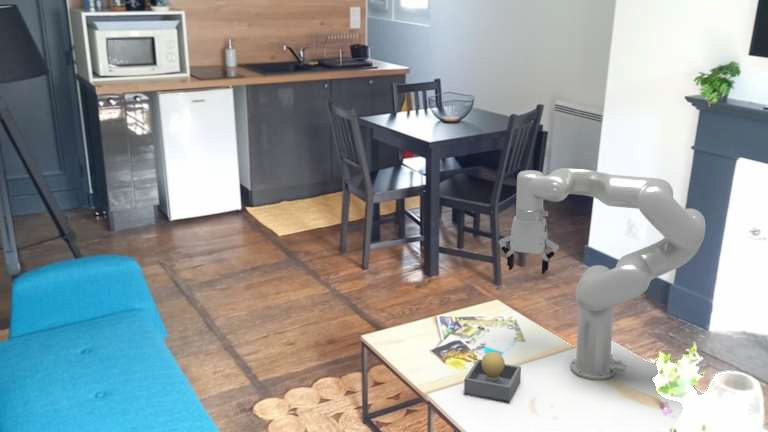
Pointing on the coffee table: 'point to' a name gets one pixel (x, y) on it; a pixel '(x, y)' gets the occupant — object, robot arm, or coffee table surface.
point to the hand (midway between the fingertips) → (527, 270)
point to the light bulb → (492, 366)
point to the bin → (492, 391)
